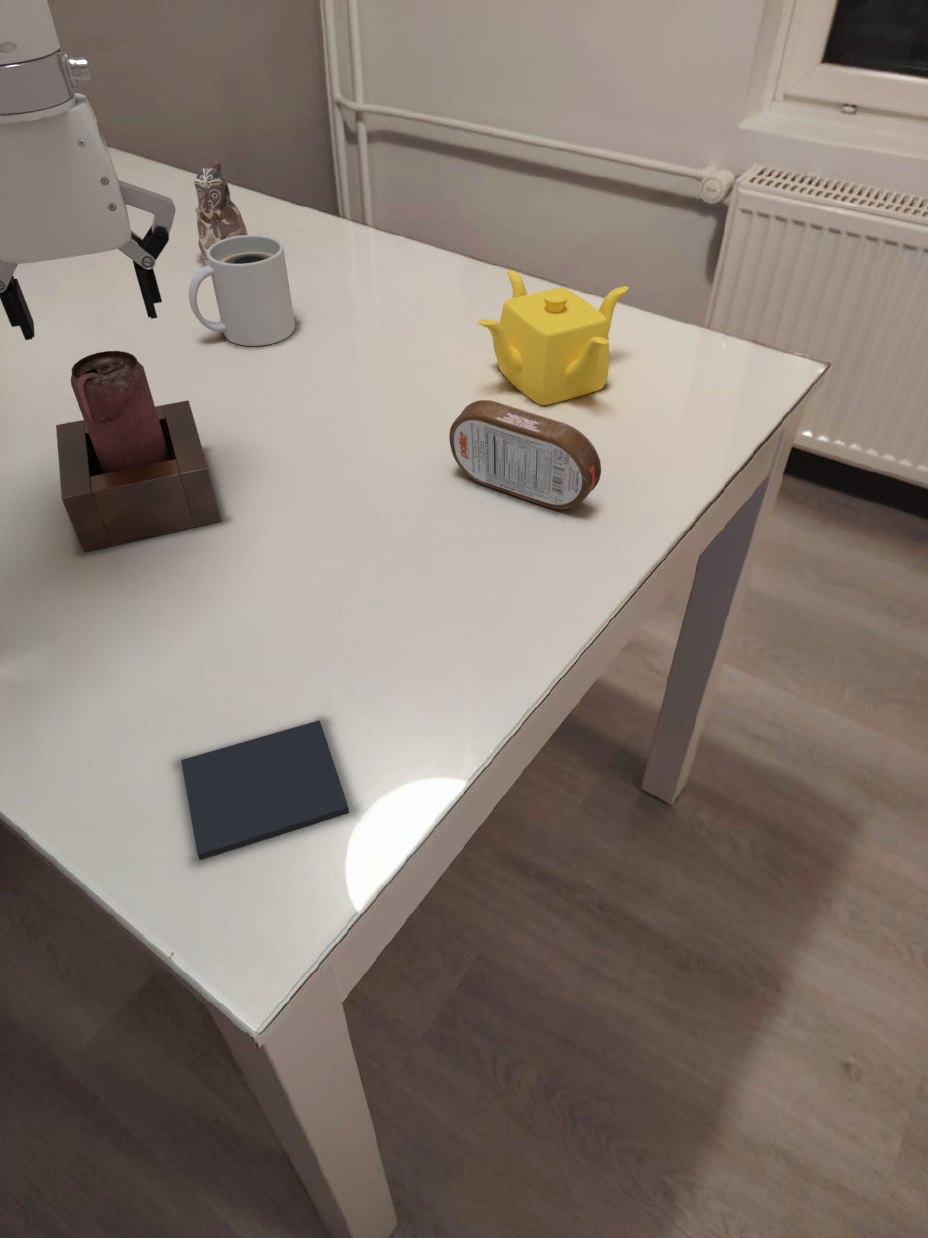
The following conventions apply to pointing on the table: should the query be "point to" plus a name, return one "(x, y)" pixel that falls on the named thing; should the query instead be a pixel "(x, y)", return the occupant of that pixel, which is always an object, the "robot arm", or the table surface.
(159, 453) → the can
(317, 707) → the table surface
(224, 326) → the mug
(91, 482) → the holder
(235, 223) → the figurine
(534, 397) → the teapot
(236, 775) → the mat
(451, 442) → the tin
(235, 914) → the table surface
